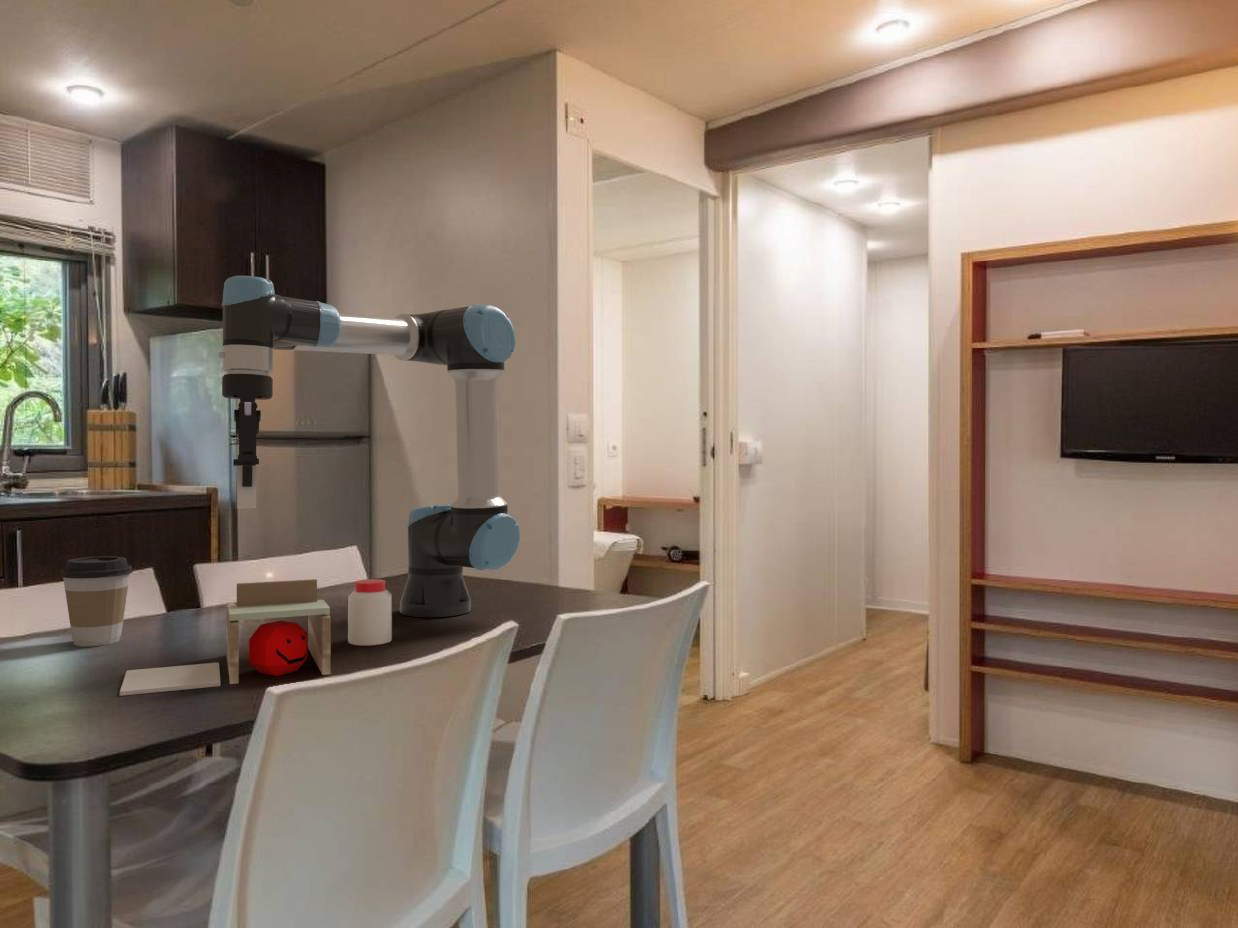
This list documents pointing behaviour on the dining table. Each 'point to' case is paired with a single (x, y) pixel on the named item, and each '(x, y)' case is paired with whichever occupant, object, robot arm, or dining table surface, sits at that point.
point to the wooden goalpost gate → (316, 643)
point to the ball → (278, 648)
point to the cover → (277, 600)
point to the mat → (170, 678)
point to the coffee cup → (96, 598)
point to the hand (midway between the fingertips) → (246, 506)
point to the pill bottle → (370, 613)
